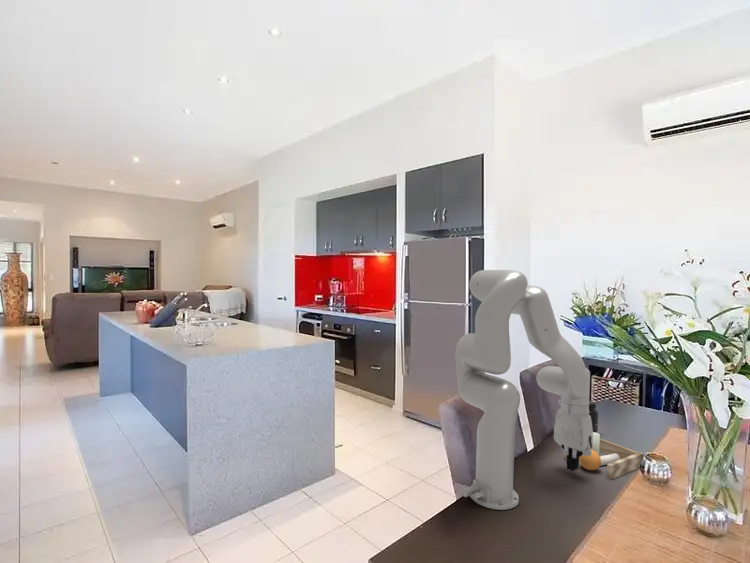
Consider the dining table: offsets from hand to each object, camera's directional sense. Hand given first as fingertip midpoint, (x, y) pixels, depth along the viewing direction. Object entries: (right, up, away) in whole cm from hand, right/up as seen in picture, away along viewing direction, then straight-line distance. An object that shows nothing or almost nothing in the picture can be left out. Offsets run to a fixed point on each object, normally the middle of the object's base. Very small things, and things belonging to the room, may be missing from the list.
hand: (572, 468), depth 126 cm
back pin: (+12, -2, +10) cm, 16 cm away
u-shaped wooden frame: (+14, -2, +8) cm, 16 cm away
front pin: (+11, -1, +6) cm, 12 cm away
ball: (+7, +1, +3) cm, 8 cm away
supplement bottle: (+21, -2, +33) cm, 39 cm away
